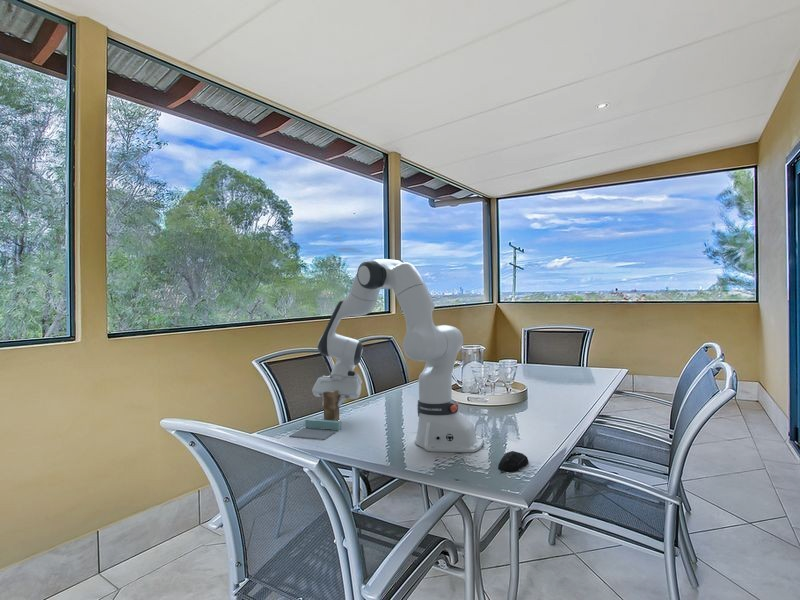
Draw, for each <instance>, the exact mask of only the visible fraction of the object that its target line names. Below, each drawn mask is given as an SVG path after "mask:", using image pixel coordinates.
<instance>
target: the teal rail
mask: <svg viewBox="0 0 800 600" xmlns="http://www.w3.org/2000/svg"><path fill="white" fill-rule="evenodd" d="M304 423H305V427H309V428H308V429H313V428H322V429H321V430H325V429H331V430H330V431H336V430H339V431H341V430H342V421H341V420H340V421H333V420H324V419H318V418H306V419H305V420H304Z"/></svg>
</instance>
